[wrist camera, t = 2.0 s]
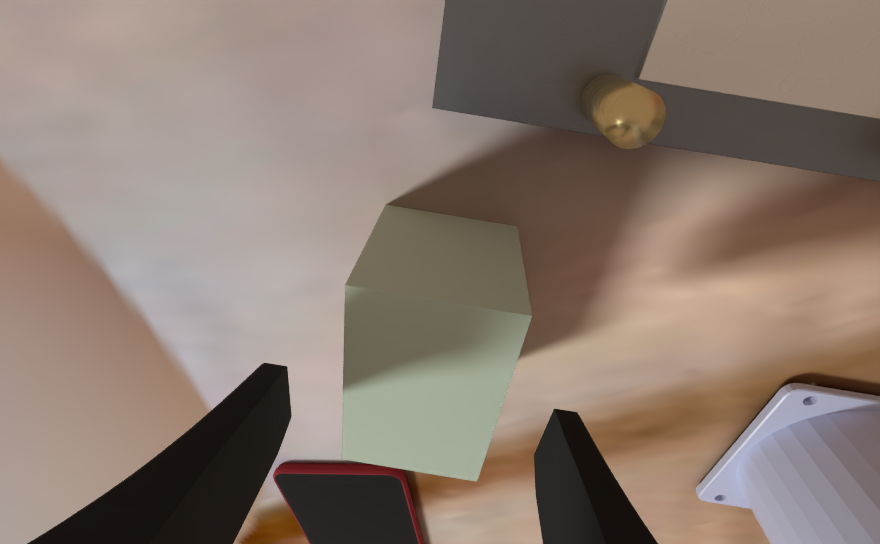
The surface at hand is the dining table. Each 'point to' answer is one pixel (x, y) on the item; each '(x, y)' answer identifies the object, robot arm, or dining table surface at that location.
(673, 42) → the chassis
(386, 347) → the board block
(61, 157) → the dining table surface
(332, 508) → the smartphone
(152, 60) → the dining table surface
